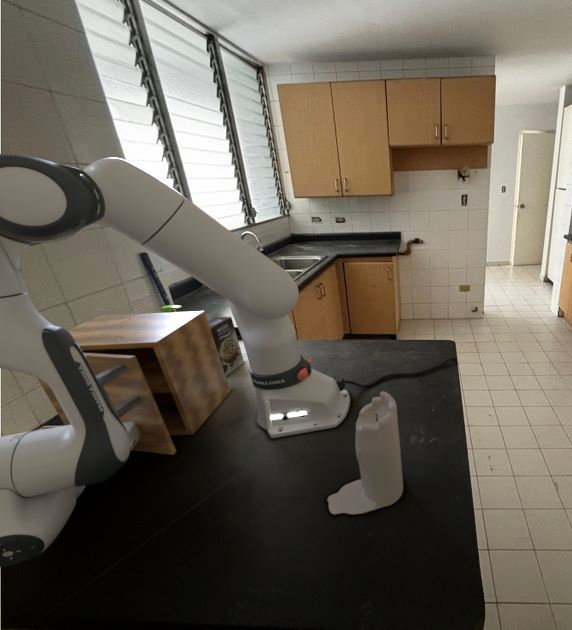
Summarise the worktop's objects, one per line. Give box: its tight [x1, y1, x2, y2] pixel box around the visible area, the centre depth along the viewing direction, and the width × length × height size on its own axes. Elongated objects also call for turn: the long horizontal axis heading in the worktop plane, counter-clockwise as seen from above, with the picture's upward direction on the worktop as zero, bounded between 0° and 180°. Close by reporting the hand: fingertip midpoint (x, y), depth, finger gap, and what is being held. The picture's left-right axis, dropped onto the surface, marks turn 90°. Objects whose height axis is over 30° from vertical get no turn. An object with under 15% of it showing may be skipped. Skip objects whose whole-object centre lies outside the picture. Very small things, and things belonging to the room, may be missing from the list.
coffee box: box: [207, 316, 245, 377], centre depth 101 cm, size 9×6×16 cm
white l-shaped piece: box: [326, 391, 404, 515], centre depth 57 cm, size 7×14×20 cm, turn 108°
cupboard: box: [66, 310, 231, 437], centre depth 81 cm, size 17×26×24 cm, turn 91°
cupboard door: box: [37, 353, 177, 456], centre depth 68 cm, size 7×26×24 cm, turn 80°
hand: (89, 427), depth 72 cm, fingers closed
